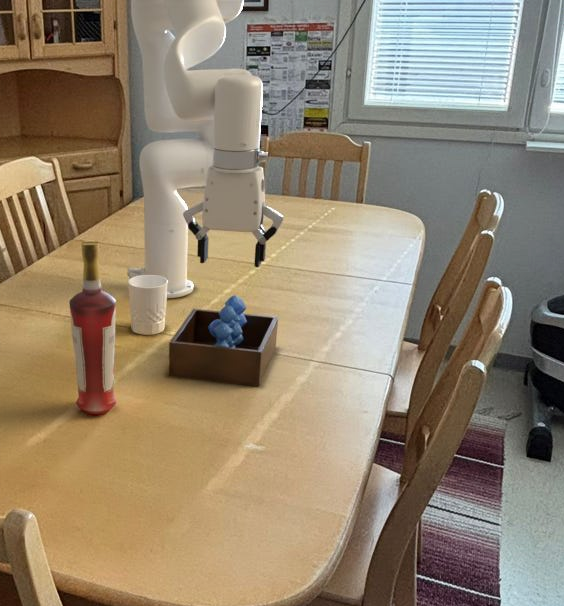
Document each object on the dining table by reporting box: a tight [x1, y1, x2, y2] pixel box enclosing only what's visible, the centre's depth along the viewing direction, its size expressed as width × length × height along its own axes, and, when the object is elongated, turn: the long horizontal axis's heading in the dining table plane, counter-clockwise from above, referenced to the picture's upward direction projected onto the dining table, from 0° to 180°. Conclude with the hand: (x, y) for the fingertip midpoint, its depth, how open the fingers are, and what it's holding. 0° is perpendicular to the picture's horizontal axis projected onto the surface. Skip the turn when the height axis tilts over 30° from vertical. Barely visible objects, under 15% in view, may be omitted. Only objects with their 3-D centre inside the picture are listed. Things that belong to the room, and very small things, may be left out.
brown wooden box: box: [168, 308, 279, 387], centre depth 159 cm, size 17×18×6 cm
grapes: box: [208, 294, 247, 348], centre depth 157 cm, size 12×7×12 cm, turn 154°
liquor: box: [68, 239, 118, 416], centre depth 137 cm, size 7×7×28 cm
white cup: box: [127, 275, 168, 336], centre depth 172 cm, size 8×8×10 cm
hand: (230, 263), depth 150 cm, fingers open, 9 cm apart
